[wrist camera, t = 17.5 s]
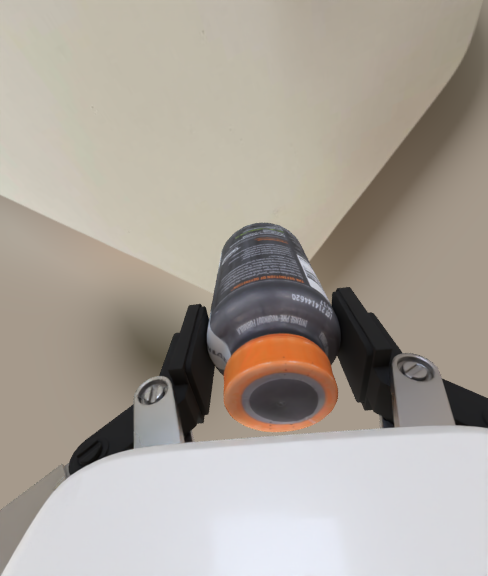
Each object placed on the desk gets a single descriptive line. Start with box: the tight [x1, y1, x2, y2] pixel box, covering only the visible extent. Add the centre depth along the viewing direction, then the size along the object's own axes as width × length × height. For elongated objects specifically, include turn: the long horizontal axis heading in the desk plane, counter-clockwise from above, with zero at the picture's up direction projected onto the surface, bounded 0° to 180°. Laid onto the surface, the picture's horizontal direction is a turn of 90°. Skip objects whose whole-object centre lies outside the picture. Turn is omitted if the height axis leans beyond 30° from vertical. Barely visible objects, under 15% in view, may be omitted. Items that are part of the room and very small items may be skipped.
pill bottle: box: [207, 223, 341, 432], centre depth 13 cm, size 6×6×11 cm
